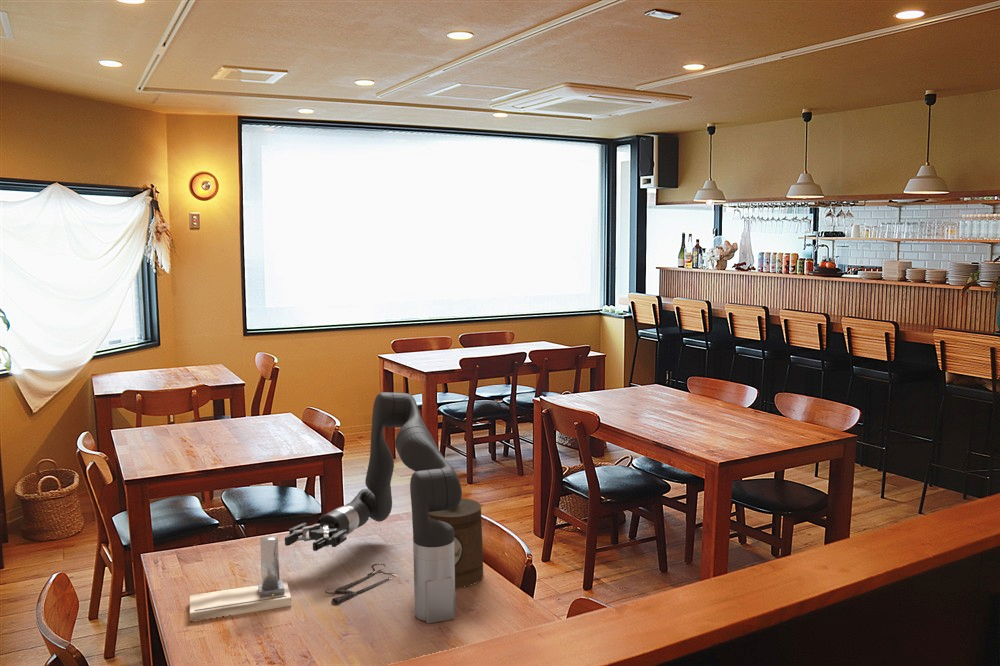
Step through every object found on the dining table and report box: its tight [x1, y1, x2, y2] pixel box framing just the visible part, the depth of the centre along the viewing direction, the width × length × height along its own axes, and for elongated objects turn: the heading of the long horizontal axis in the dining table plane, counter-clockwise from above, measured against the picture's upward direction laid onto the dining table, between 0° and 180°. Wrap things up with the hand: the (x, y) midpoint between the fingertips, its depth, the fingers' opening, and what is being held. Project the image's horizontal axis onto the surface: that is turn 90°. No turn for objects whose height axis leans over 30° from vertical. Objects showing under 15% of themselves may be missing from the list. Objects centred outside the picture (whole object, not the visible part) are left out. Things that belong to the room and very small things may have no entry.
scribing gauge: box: [257, 534, 285, 598], centre depth 194 cm, size 7×6×13 cm
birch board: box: [189, 580, 292, 622], centre depth 193 cm, size 10×22×2 cm, turn 110°
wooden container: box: [428, 497, 484, 589], centre depth 207 cm, size 15×15×22 cm
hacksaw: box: [324, 563, 394, 605], centre depth 205 cm, size 24×10×2 cm, turn 143°
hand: (299, 544), depth 204 cm, fingers open, 8 cm apart
